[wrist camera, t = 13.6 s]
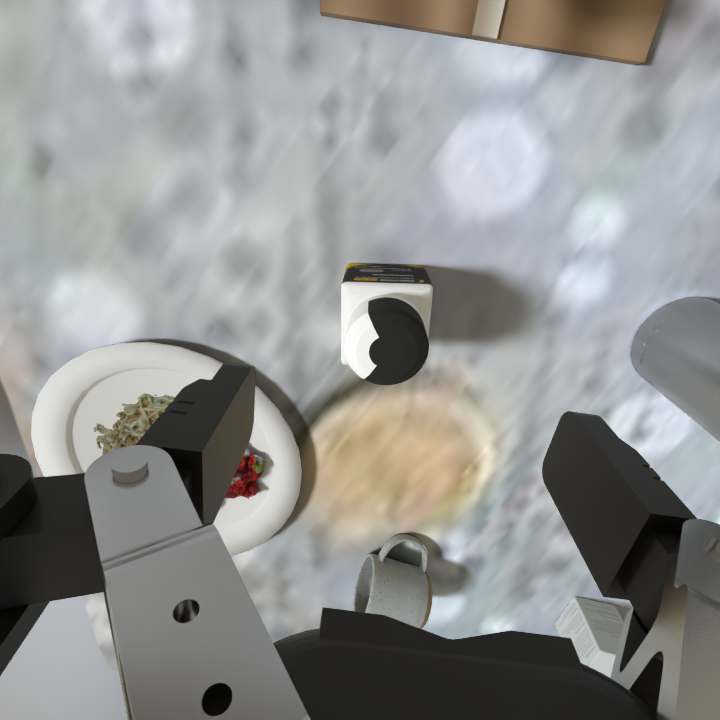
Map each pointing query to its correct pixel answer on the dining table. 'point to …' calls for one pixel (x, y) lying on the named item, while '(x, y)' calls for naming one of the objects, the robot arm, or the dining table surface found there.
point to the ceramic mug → (394, 586)
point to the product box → (592, 632)
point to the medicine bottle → (385, 321)
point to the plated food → (142, 408)
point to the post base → (522, 22)
